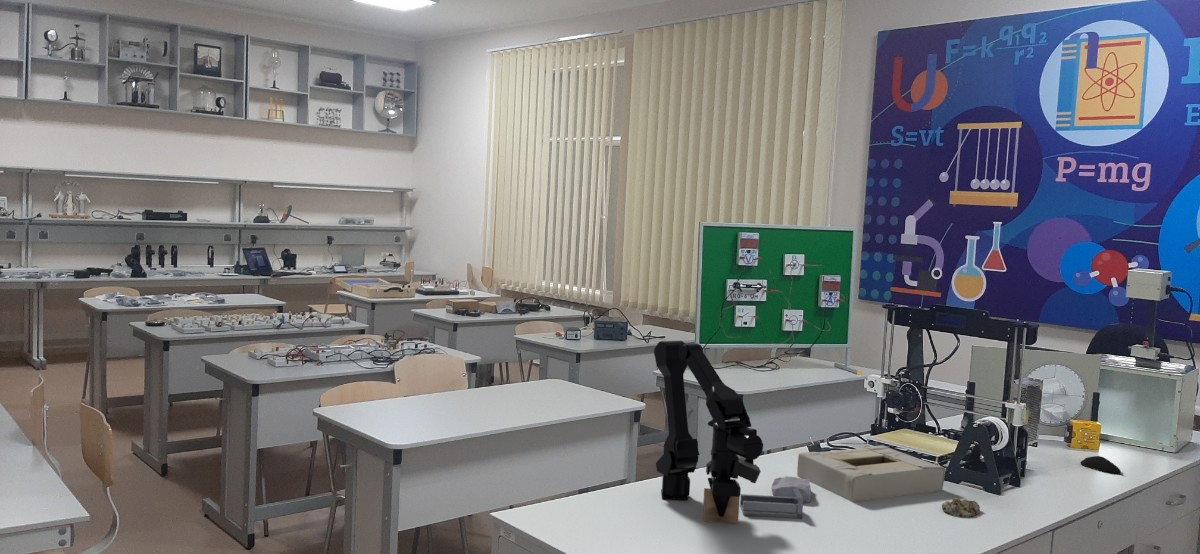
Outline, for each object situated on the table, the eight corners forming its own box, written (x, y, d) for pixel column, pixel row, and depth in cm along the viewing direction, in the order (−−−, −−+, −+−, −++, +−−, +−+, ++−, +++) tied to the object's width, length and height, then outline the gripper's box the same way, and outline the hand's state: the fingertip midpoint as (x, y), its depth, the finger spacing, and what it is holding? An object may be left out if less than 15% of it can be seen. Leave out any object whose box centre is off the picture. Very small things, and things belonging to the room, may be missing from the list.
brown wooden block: (703, 521, 204) (705, 492, 204) (702, 517, 207) (704, 488, 207) (738, 523, 204) (739, 494, 203) (736, 519, 207) (738, 490, 206)
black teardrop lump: (1120, 479, 257) (1121, 466, 257) (1075, 465, 271) (1076, 452, 270) (1134, 477, 260) (1136, 464, 259) (1089, 463, 273) (1090, 451, 273)
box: (852, 505, 223) (944, 492, 237) (854, 475, 223) (946, 463, 236) (795, 479, 244) (882, 469, 258) (796, 452, 243) (883, 443, 257)
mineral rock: (958, 511, 213) (937, 492, 221) (953, 526, 215) (932, 507, 222) (992, 509, 217) (970, 491, 224) (987, 524, 219) (965, 505, 226)
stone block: (773, 507, 222) (813, 503, 221) (771, 488, 222) (811, 484, 221) (772, 494, 234) (810, 490, 232) (770, 477, 234) (808, 473, 232)
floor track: (743, 515, 210) (744, 494, 209) (739, 505, 217) (740, 485, 216) (802, 518, 209) (803, 497, 209) (796, 508, 216) (797, 488, 216)
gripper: (765, 461, 195) (760, 530, 196) (753, 440, 213) (749, 502, 214) (714, 459, 195) (711, 527, 196) (707, 437, 214) (704, 500, 215)
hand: (720, 513), depth 205 cm, fingers closed on brown wooden block, 3 cm apart
